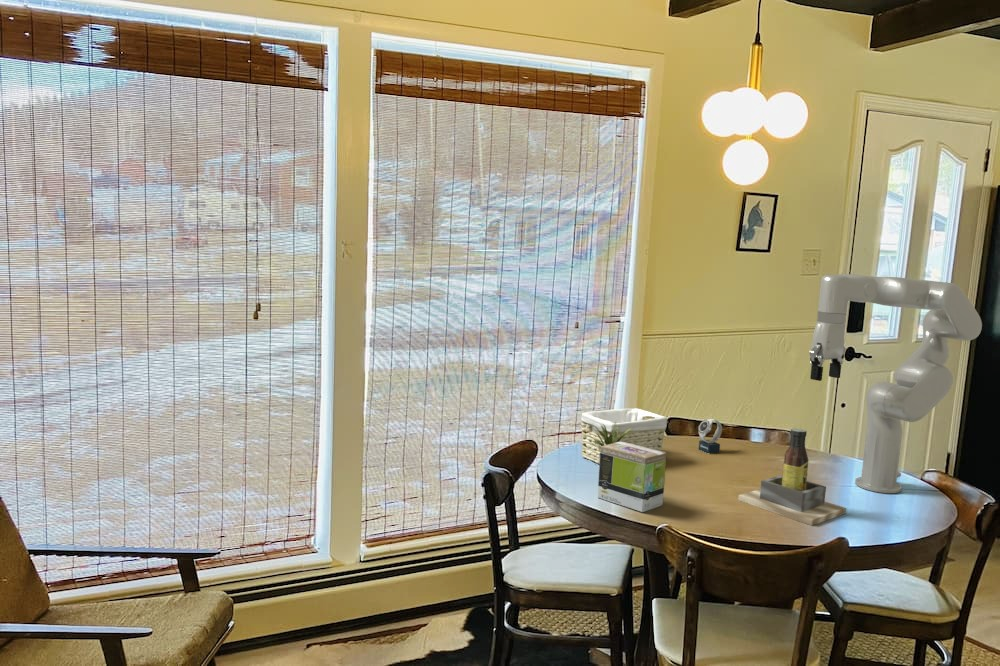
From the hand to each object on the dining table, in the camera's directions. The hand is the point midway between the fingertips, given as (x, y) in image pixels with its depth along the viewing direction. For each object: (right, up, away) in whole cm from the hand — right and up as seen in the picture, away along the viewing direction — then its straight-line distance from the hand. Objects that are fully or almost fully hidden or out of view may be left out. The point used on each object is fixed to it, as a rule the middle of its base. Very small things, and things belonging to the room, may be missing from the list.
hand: (825, 378), depth 229 cm
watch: (-22, -27, +43) cm, 55 cm away
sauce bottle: (-13, -33, -10) cm, 37 cm away
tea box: (-58, -33, -12) cm, 67 cm away
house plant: (-61, -29, +10) cm, 69 cm away
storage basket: (-54, -28, +28) cm, 67 cm away
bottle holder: (-13, -34, -10) cm, 38 cm away
